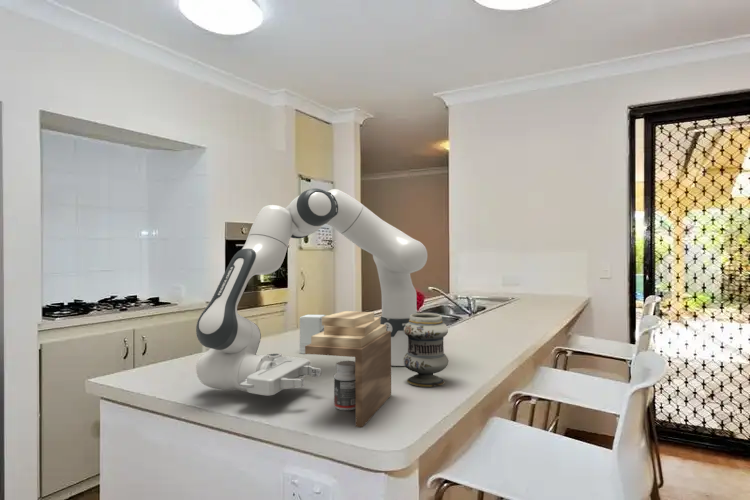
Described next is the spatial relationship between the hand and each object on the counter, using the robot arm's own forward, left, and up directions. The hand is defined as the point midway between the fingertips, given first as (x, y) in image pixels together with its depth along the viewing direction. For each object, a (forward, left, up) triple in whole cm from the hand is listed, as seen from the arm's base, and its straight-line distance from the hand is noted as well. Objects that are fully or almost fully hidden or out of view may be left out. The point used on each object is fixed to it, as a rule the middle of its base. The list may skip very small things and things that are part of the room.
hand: (311, 377), depth 111 cm
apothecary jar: (-31, +10, -6) cm, 34 cm away
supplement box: (-37, -42, -6) cm, 57 cm away
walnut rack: (-4, +9, -6) cm, 12 cm away
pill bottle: (-3, +8, -6) cm, 11 cm away
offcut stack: (-4, +9, +10) cm, 14 cm away
